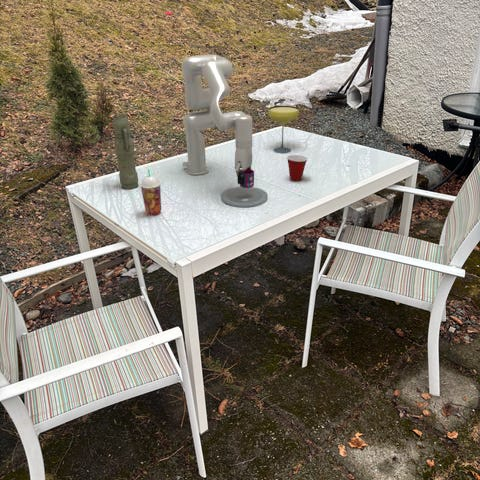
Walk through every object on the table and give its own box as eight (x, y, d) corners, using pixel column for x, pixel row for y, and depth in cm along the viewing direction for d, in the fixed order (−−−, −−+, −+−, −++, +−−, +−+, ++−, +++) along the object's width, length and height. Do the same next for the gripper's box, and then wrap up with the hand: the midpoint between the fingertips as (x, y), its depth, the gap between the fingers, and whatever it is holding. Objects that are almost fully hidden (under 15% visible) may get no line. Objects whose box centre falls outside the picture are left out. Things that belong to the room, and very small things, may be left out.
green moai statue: (132, 180, 228) (123, 112, 211) (143, 187, 220) (134, 117, 203) (116, 184, 224) (105, 115, 206) (126, 191, 215) (116, 120, 198)
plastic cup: (310, 178, 228) (312, 156, 222) (298, 184, 221) (299, 162, 215) (293, 173, 234) (295, 152, 228) (281, 179, 227) (282, 157, 221)
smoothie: (145, 209, 198) (139, 167, 188) (163, 208, 198) (159, 166, 189) (143, 217, 191) (137, 174, 181) (162, 216, 191) (157, 173, 181)
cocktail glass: (265, 146, 276) (266, 106, 264) (293, 145, 278) (295, 105, 265) (270, 155, 260) (271, 113, 248) (299, 154, 262) (302, 112, 250)
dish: (212, 202, 203) (212, 200, 203) (233, 185, 221) (233, 183, 220) (256, 210, 195) (256, 208, 194) (274, 192, 212) (274, 190, 212)
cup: (245, 189, 200) (245, 175, 197) (232, 182, 207) (232, 168, 204) (256, 185, 203) (257, 172, 200) (244, 179, 211) (244, 165, 207)
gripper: (244, 137, 203) (244, 174, 212) (227, 148, 190) (228, 186, 198) (259, 139, 200) (259, 176, 209) (243, 150, 187) (243, 189, 195)
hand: (244, 181), depth 204 cm, fingers closed on cup, 6 cm apart
